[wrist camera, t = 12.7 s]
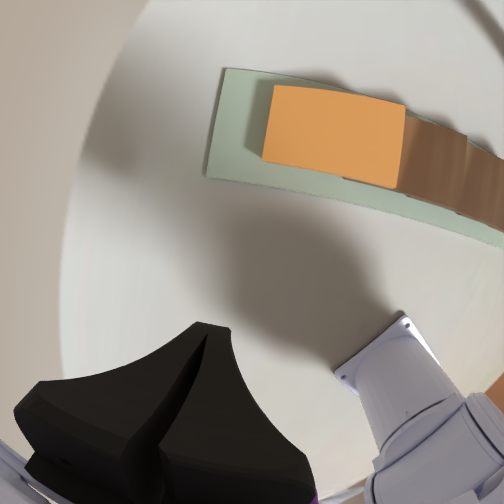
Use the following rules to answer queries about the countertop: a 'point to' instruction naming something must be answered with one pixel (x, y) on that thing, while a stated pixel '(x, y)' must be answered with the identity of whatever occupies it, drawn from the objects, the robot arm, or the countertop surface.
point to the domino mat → (301, 180)
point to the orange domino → (335, 134)
